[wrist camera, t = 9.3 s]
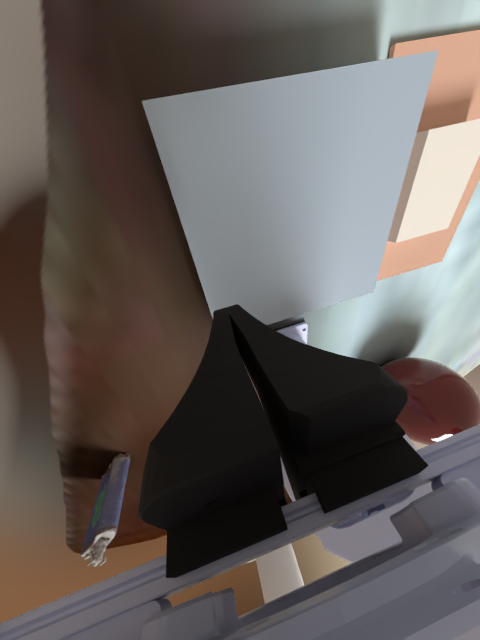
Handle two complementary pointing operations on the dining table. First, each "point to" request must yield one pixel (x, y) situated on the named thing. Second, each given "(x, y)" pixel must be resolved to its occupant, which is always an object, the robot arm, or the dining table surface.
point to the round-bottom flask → (434, 400)
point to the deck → (291, 180)
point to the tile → (435, 179)
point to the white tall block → (278, 573)
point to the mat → (439, 110)
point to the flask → (106, 510)
